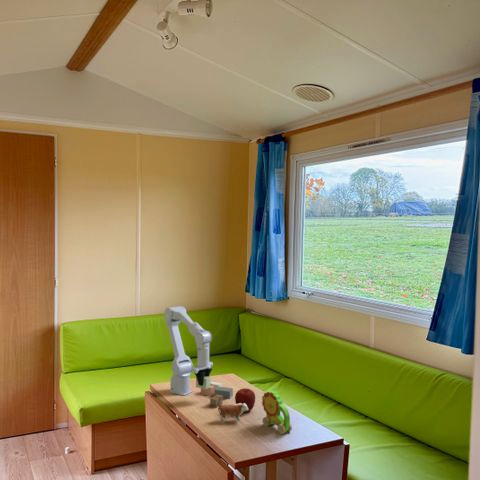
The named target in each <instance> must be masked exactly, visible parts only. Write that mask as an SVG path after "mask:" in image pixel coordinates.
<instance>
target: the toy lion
mask: <svg viewBox="0 0 480 480" xmlns="http://www.w3.org/2000/svg"><path fill="white" fill-rule="evenodd" d="M261 398H262V399H261V400H262V401H261V404H262V407H263V411H264V412H265V413H266V415H265V417H263V418H262V424H263V425H264V426H265V427H268V426H270V425H275V426H277V432H278V433H279V434H280V435H283V434H285V433H286V432H287V433H288V432H291V431H292V429H293V427H292V424H291V421H290V420H291V419H290V411H289V410H288V408H287V407H286V406H285V404H283V401H282V399H281V396H280V395H279V394H278V393H277V391H275V390H274V391H273V390H269V391H266V392H264V393H263V395H262V397H261ZM281 413H282V415H283V416H282V415H281Z"/></svg>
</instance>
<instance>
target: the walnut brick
mask: <svg viewBox="0 0 480 480" xmlns="http://www.w3.org/2000/svg"><path fill="white" fill-rule="evenodd" d="M223 399H224V398H223V396H221V395H215V394H214V396H212V397H210V400H209V407H211V408H214V409H216V408H217V409H218V407H219V406H220V405H224V403H223V402H224V400H223Z"/></svg>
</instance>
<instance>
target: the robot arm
mask: <svg viewBox="0 0 480 480" xmlns="http://www.w3.org/2000/svg"><path fill="white" fill-rule="evenodd" d="M163 317H164V320H165V324H166V325H167V330H168V334H169V337H170V341H171V345H172V349H173V355H174V359H173V360H172V362H171V371H172V373H173V374H172V375H171V377H170V390H169V393H171V394H176V395H179V396H187V395H188V394H190V393H192V392H194V390H193V389H190V385H191V383H190V382H191V381H190V379H191V377H190V376H191V375H192V373H193V374H194V375H195V378H196V377H197V380H198V384H199V385H201V386H203V382H204V376H207V377H210V375H211V373H212V372H213V366H214V365H213V363H214V362H213V361H210V343H212V341H213V335H212V333H211V332H210V331H209V330H206V329H204V328H203V327H202V326H201V325H200V324H199V323H198V322H196V321H195V322H194V321H193V320H192V319H191V317H190V316H189V315H188V314H187V309H186V308H185V306H183V305H179V306H172V307H171V306H170V307H166V308H165V309H164V312H163ZM181 322H182V323H183V324H185V326H187V327H188V328H187V329H188V332H189V333H190V334H191V335H192V336H193V337H194V340H195V344H196V349H197V356H196V357H197V358H196V359H197V360H196V362H197V365H196V366H195V367H194V364H193V362H192V360H191V357H190V356H188V355H187V354H186V352H185V348H184V345H183V341H182V338H181V333H180V330H179V324H180V323H181Z"/></svg>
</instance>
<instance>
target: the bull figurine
mask: <svg viewBox="0 0 480 480" xmlns="http://www.w3.org/2000/svg"><path fill="white" fill-rule="evenodd" d="M217 410H218V413H219V416H220V417H219V418H220V419H221V420H222V421H223V420H224V422H226V423H229V421H228V419H227V417H226V415H227V416H228V417H231V416H235V420H234V422H236V423H238V422H239V421H241V417H240V416H241V415H242V414H243V413H244V412H243V411H248V410H249V409H248V407H247V405H246V403H243V404H241V403H239V404H236V403H235V404H222V405H220V406H218V407H217Z"/></svg>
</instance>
